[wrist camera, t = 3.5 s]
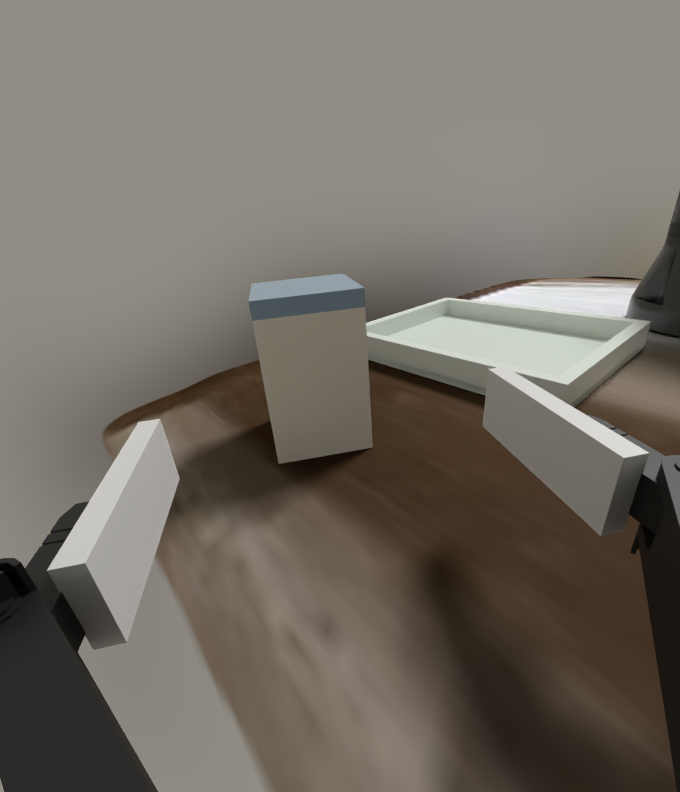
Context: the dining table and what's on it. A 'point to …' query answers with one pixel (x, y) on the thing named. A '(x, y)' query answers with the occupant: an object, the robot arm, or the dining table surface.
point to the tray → (506, 345)
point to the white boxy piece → (314, 364)
